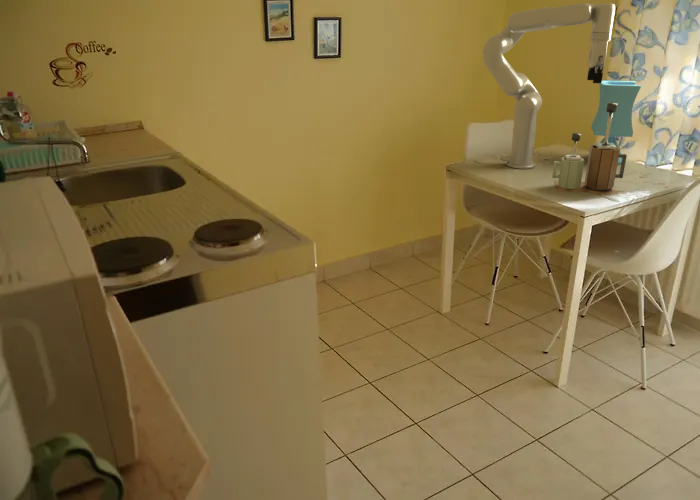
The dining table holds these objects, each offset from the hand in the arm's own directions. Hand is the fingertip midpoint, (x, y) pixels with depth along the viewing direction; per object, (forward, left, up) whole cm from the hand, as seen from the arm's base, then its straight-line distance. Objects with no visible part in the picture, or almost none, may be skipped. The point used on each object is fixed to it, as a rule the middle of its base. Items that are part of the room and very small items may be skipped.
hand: (594, 81), depth 235 cm
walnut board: (-3, -27, -38) cm, 47 cm away
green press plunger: (-9, -27, -29) cm, 40 cm away
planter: (+15, +23, -38) cm, 48 cm away
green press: (-10, -27, -37) cm, 47 cm away
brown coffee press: (+4, -27, -37) cm, 46 cm away
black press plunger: (+2, -27, -25) cm, 37 cm away
